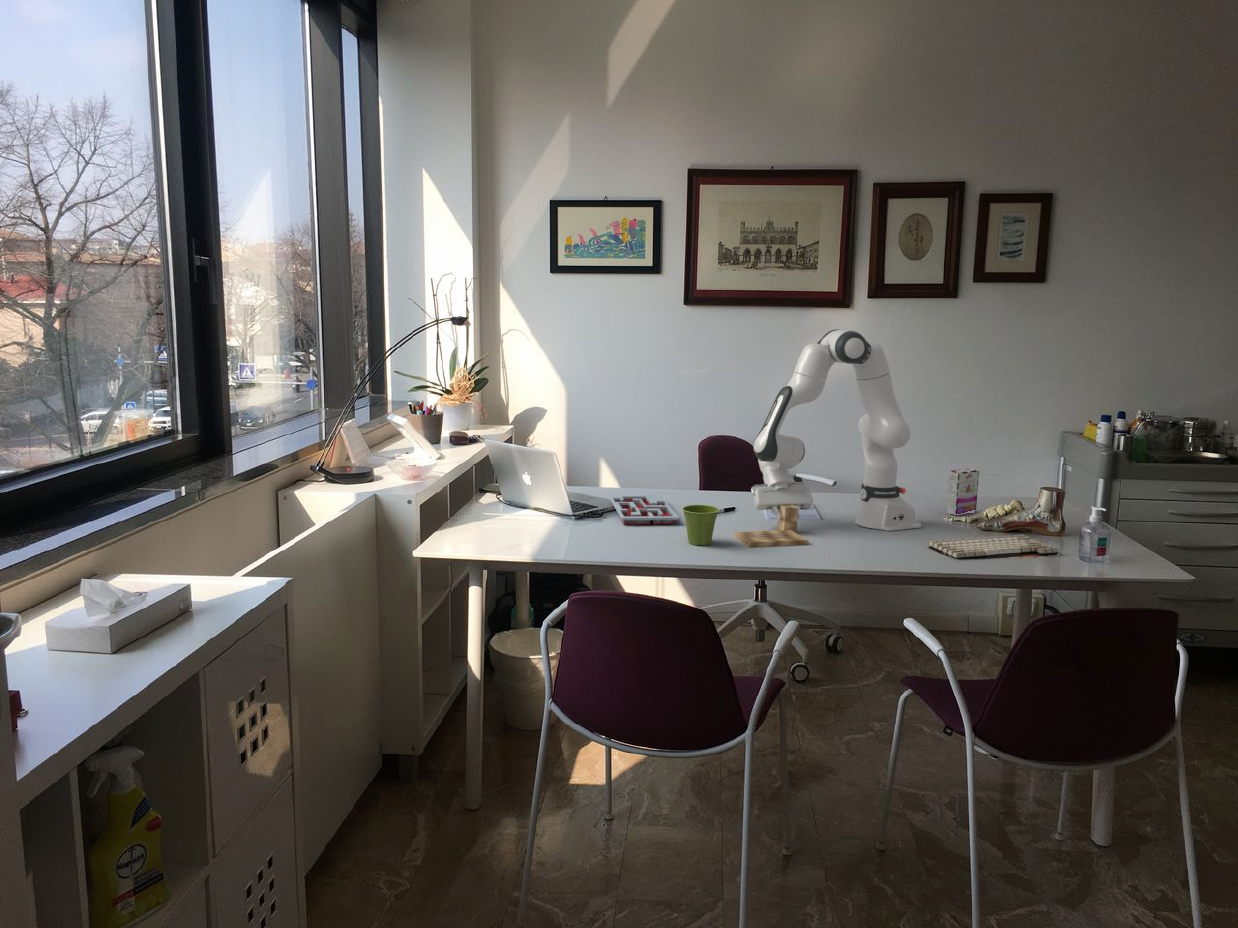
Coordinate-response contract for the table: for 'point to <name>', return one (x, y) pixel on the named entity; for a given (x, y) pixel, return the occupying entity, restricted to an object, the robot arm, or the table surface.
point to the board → (770, 538)
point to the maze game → (643, 510)
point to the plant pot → (700, 523)
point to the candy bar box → (962, 490)
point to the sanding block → (788, 518)
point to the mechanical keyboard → (992, 547)
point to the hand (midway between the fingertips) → (788, 518)
